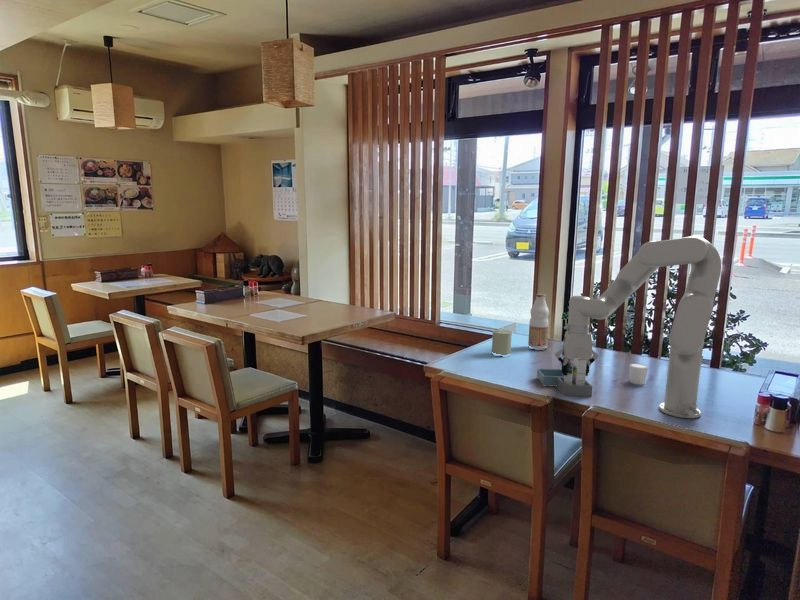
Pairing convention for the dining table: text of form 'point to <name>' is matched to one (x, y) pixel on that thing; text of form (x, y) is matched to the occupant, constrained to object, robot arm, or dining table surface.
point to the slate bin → (549, 376)
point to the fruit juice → (539, 323)
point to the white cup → (638, 373)
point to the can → (501, 342)
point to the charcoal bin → (574, 388)
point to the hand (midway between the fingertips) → (574, 374)
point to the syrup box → (576, 372)
